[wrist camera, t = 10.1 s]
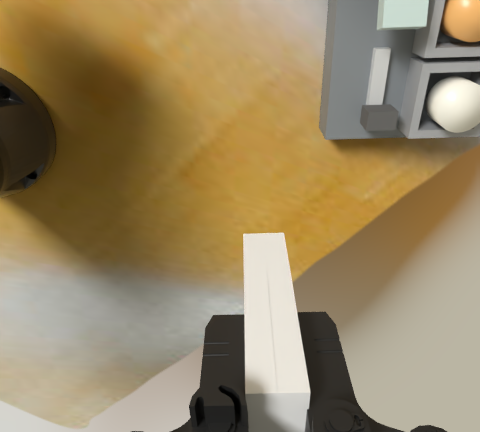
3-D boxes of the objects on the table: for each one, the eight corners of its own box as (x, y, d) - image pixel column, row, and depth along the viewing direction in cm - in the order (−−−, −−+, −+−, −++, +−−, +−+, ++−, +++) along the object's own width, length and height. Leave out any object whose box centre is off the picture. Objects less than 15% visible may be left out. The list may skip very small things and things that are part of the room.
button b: (431, 38, 37) (446, 43, 34) (442, -18, 34) (459, -17, 32) (479, 36, 37) (498, 41, 34) (494, -20, 34) (515, -19, 32)
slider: (359, 122, 40) (366, 130, 38) (362, 105, 40) (368, 112, 37) (387, 122, 40) (395, 130, 38) (390, 104, 39) (398, 111, 37)
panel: (319, 127, 46) (330, 150, 40) (338, -136, 34) (359, -158, 28) (459, 122, 46) (492, 145, 40) (529, -143, 34) (591, -167, 28)
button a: (420, 122, 39) (433, 133, 37) (430, 76, 37) (444, 84, 34) (466, 121, 39) (481, 131, 37) (478, 75, 37) (496, 82, 34)
